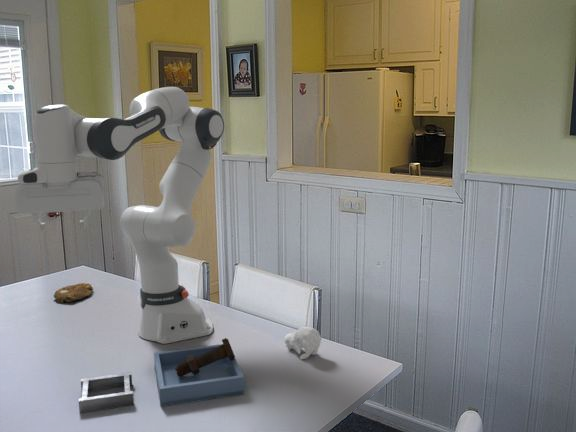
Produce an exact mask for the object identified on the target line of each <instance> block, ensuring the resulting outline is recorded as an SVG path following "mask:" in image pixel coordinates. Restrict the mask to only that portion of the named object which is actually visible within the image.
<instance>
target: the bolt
mask: <svg viewBox="0 0 576 432" xmlns="http://www.w3.org/2000/svg"><path fill="white" fill-rule="evenodd" d="M221 341H222V344H223V345H220V344H219V345H220V346H218V347H217V348H215V349H213V350H211V351H208V352H206V353H205V354H204V353H203V354H202V355H200V356H197V357H194V355H190V356H188V357H187V361H185V362H184V363H181V364H179V365H177V367H176V368H175V370H176V371H177V375H178V376H179V377H182V376H183V375H185V374H188V373H190V372H192V374H194V375H195V374H198V373H199V371H200V370H199V368H202V367H204V366H205V365H209V364H210V363H214V362H215V361H218V360H220V359H224V358H226V357H229V359H230V361H231V360H233V359H234V358H235V359H236V356H235V354H234V350H233V348H232V345H231V343H230V341H229V339H228V338H223V339H221Z"/></svg>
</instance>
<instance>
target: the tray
mask: <svg viewBox="0 0 576 432" xmlns="http://www.w3.org/2000/svg"><path fill="white" fill-rule="evenodd" d="M220 345H223V343H222V344H221V343H220V344H214V345H212V344H211V345H206V346H205V345H204V346H198V347H197V346H196V347H190V348H181V349H173V350H165V351H164V350H163V351H158V352H153V362H154V363H153V366H154V373H155V379H156V380H155V381H156V386H157V387H156V388H157V392H158V399H159V405H160V408H161V407H167V406H173V405H174V406H175V405H181V404H187V403H194V402H200V401H201V402H202V401H206V400H207V401H208V400H213V399H221V398H227V397H228V398H229V397H233V396H240V395H244V394H245V377H244V374H243V372H242V370H241V367H240V366H239V363H238V361H237V360H236V357H235V358H234V359H233V360H231V361H230V359H229V357H226V358H224V359H220V360H218V361H215V362H214V363H210V364H209V365H205V366H204V367H202V368H199V370H200V371H199V373H198V374H195V375H194V374H192V372H190V373H188V374H185V375H183V376H182V377H179V376H178V375H177V371H176V370H175V368H176V367H177V365H179V364H181V363H184V362H185V361H187V357H188V356H190V355H194V357H197V356H200V355H202V354H203V353H204V354H205V353H206V352H208V351H211V350H213V349H215V348H217V347H218V346H220Z"/></svg>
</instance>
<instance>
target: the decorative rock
mask: <svg viewBox="0 0 576 432" xmlns="http://www.w3.org/2000/svg"><path fill="white" fill-rule="evenodd" d="M93 291H94V287H93V286H92V284H91V283H85V282H81V283H77V284H71V285H67V286H64V287H62V288H59V289H56V290H55V292H54V295H53V297H54V298H55V301H56V303H57V304H58V303H61V304H64V302H66V303H71V302H75V301H79V300H81V299H83V298H84V299H85V298H87V297H88V296H91V294H92V292H93Z"/></svg>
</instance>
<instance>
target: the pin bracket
mask: <svg viewBox="0 0 576 432" xmlns="http://www.w3.org/2000/svg"><path fill="white" fill-rule="evenodd" d="M131 386H133V375H132V372H127V373H119V374H118V373H116V374H109V375H102V376H101V375H100V376H94V377H89V378H88V377H87V378H82V379H80V388H81V389H80V390H81V391H80V392H81V398H78V410H79V414H82V413H90V412H95V411H101V410H102V411H103V410H111V409H117V408H124V407H130V406H134V404H135V403H134V391H133V390H131ZM118 388H124V391H123V392H117V393H109V394H108V393H107V394H102V395H95V396H90V392H96V391H103V390H111V389H118Z"/></svg>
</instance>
